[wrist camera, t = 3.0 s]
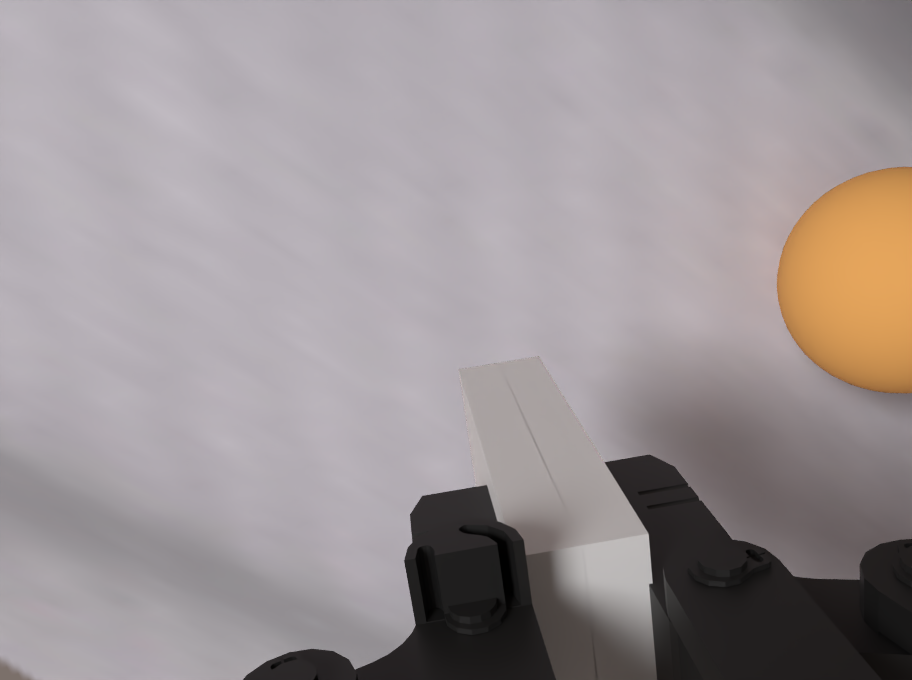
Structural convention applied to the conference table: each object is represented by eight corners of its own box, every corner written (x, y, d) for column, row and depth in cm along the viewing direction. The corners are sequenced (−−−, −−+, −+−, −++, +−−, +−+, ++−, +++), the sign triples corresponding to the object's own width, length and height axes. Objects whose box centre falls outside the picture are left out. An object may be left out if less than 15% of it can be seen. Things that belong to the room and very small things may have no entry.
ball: (939, 143, 23) (1103, 162, 18) (933, 337, 25) (1082, 407, 19) (738, 174, 23) (844, 201, 17) (746, 367, 24) (845, 446, 19)
